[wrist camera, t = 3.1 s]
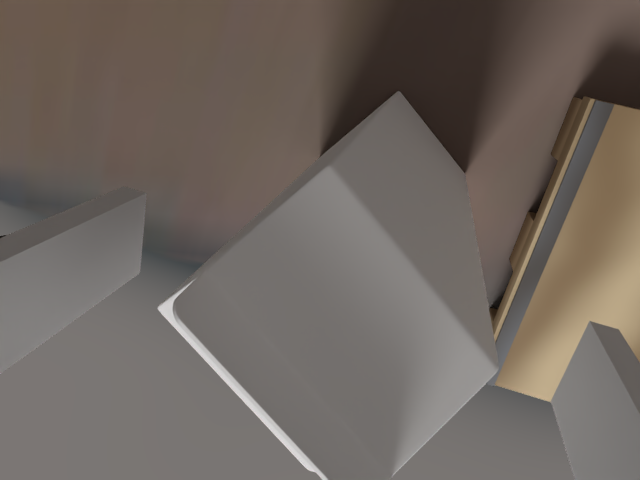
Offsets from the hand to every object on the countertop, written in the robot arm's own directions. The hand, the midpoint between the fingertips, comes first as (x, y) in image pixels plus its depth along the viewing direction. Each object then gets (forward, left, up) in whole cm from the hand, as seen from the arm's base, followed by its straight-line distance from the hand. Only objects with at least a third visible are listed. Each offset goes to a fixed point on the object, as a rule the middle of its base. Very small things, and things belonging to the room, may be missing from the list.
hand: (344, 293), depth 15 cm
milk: (0, 0, -16) cm, 16 cm away
